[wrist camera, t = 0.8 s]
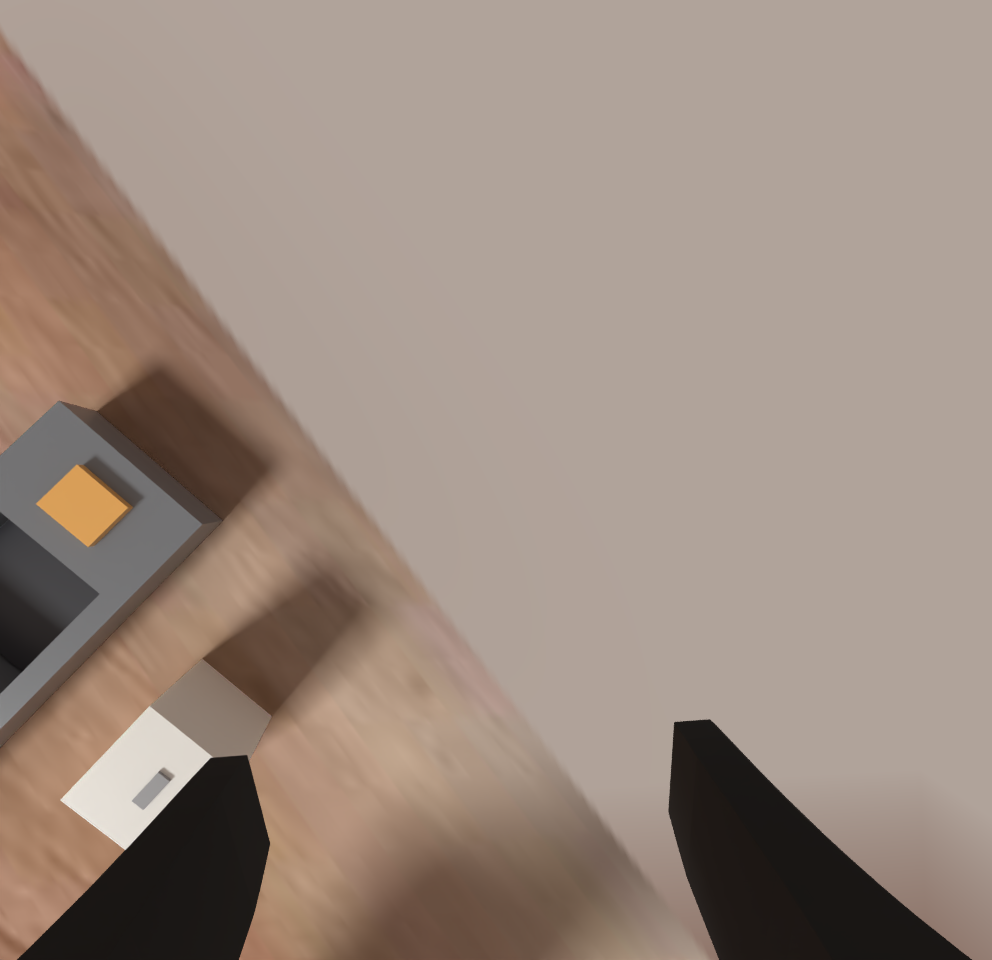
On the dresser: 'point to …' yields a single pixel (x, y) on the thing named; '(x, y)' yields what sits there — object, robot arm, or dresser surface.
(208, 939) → the robot arm
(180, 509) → the power strip
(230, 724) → the block
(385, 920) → the dresser surface
